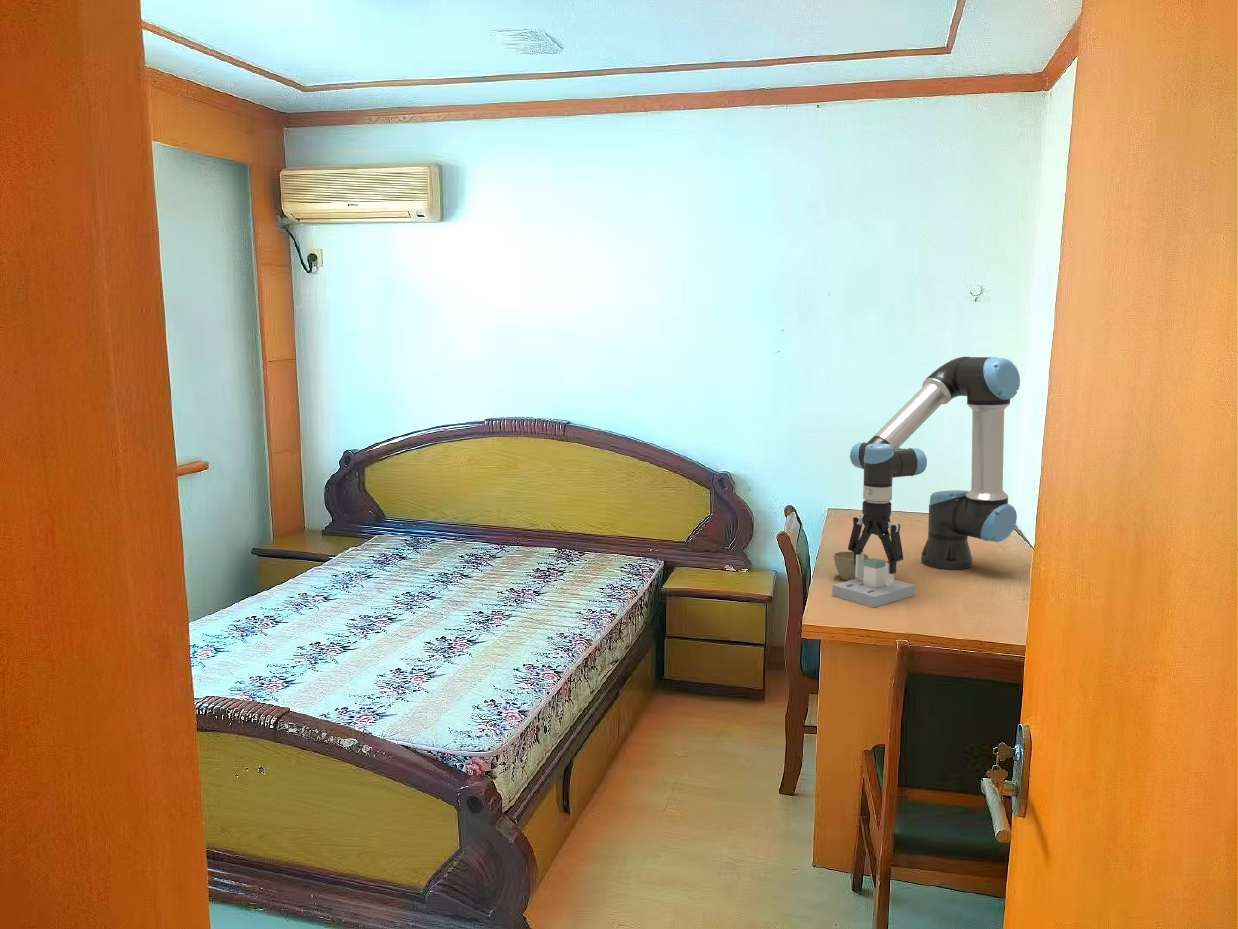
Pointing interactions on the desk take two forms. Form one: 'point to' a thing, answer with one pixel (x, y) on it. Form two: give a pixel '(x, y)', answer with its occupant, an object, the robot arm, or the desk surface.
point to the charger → (874, 573)
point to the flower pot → (846, 564)
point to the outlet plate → (872, 592)
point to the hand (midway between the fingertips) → (873, 580)
